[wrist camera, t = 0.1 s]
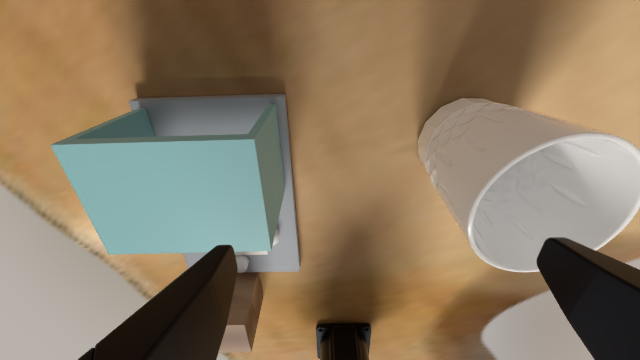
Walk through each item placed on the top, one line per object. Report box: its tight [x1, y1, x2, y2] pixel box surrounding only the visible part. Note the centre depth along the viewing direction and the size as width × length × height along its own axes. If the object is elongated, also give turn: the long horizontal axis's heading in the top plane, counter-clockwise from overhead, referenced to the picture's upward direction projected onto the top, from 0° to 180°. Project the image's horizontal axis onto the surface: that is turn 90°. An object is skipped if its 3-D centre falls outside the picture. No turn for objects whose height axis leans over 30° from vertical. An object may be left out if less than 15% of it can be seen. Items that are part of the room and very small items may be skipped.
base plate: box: [129, 94, 300, 273], centre depth 23 cm, size 17×11×2 cm, turn 2°
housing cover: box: [51, 104, 285, 254], centre depth 18 cm, size 7×10×7 cm
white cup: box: [418, 98, 640, 272], centre depth 17 cm, size 8×8×10 cm
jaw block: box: [218, 272, 263, 353], centre depth 27 cm, size 4×4×6 cm
